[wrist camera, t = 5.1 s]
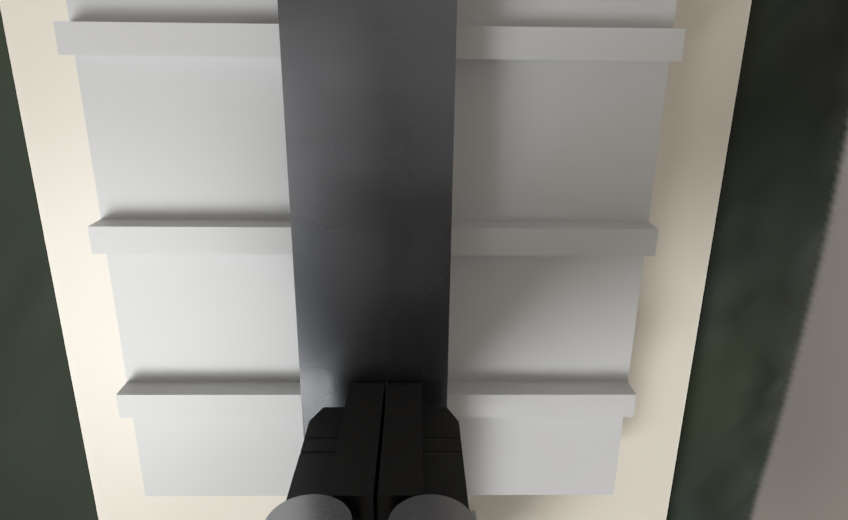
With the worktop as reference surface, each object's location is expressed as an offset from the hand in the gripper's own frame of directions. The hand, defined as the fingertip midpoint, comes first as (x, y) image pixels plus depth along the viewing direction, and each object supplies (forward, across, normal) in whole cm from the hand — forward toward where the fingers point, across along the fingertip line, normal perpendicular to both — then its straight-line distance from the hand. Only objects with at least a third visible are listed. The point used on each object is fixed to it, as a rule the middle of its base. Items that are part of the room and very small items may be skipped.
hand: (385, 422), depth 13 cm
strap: (+1, 0, -4) cm, 4 cm away
